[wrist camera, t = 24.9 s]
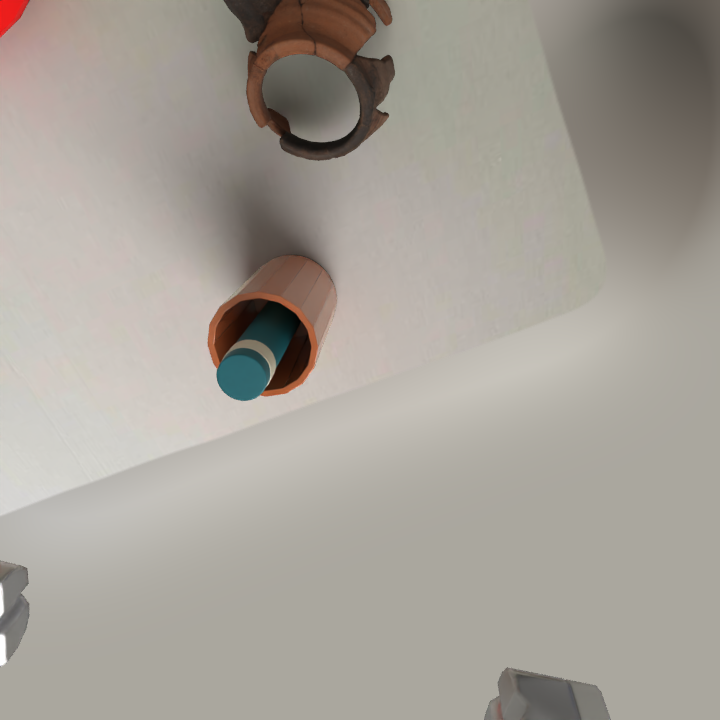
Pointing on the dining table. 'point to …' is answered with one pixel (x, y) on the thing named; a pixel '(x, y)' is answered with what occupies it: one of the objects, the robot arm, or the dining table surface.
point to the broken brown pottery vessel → (326, 40)
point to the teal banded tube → (257, 352)
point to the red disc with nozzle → (10, 13)
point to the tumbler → (296, 292)
